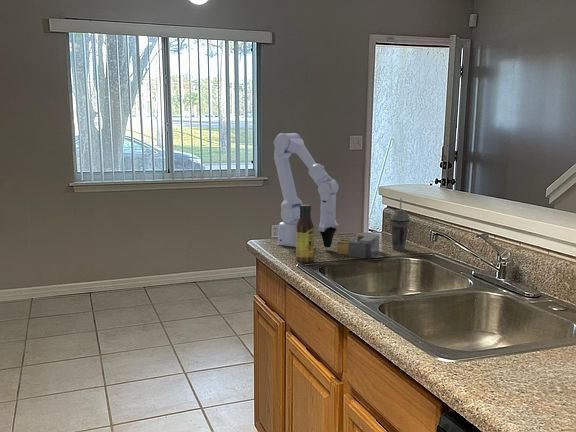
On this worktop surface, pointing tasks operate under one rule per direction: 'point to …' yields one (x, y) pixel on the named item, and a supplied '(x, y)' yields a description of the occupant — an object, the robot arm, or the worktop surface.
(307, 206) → the sauce bottle
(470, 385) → the worktop surface
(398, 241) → the beverage cup
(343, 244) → the block
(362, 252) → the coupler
